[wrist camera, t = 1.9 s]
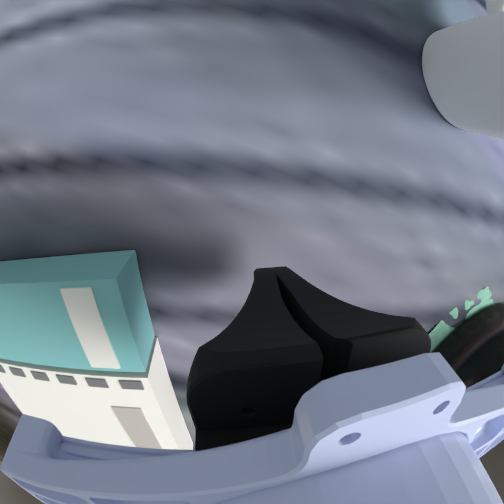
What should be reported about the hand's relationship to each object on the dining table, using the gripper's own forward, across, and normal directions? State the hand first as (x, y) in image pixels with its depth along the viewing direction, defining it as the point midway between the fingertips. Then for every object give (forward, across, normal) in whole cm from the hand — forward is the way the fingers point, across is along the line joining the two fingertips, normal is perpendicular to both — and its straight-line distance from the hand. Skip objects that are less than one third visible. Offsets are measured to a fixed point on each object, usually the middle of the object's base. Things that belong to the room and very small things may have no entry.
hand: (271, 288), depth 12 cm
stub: (+2, +12, +1) cm, 12 cm away
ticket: (+2, +12, +10) cm, 16 cm away
